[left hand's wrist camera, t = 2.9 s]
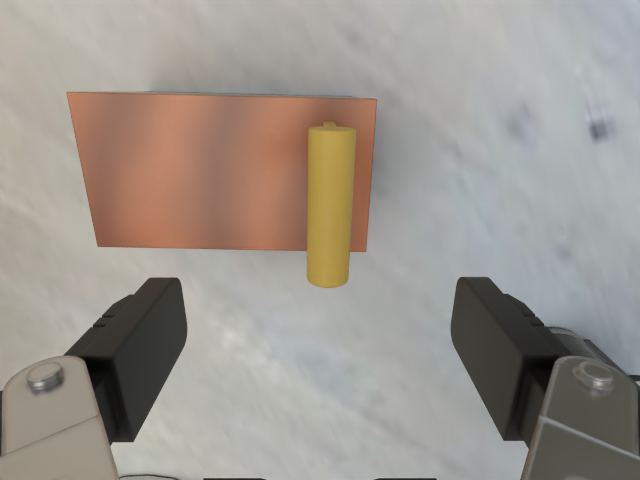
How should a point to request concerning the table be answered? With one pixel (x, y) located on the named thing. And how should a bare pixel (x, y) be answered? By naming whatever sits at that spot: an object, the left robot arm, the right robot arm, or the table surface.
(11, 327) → the table surface
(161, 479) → the ashtray
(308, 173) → the lid
